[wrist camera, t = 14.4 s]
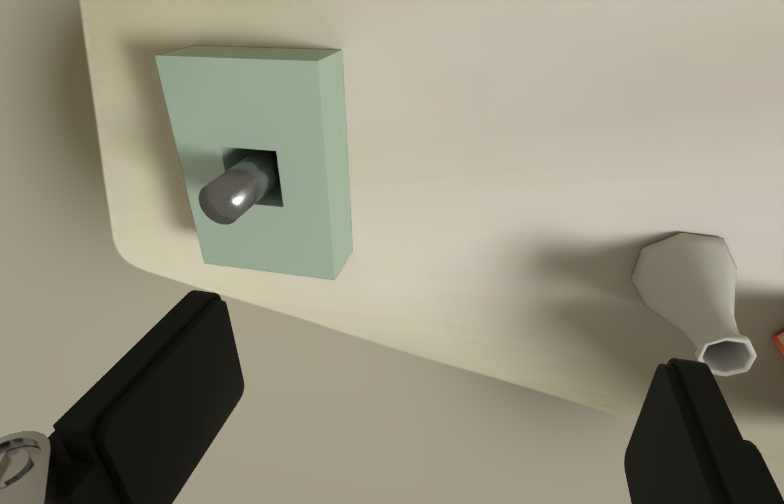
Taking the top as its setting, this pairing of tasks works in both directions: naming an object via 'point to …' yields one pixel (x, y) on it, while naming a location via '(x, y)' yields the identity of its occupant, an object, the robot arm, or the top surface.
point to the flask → (696, 297)
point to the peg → (240, 187)
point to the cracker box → (779, 341)
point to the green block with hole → (265, 132)
